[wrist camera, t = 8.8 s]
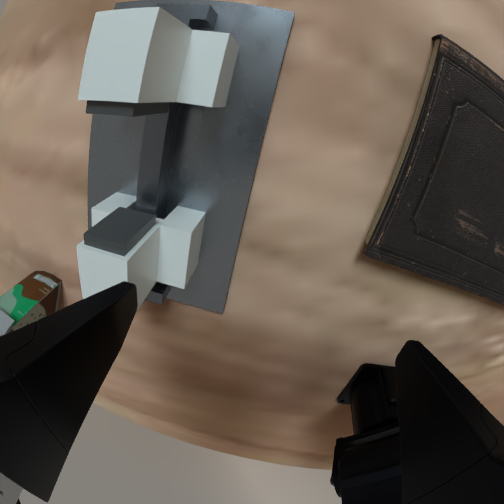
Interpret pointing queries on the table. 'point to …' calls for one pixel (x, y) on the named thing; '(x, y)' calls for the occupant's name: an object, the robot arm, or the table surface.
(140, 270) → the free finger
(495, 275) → the hardcover book
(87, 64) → the block
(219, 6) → the rail
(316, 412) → the table surface
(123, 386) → the table surface
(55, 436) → the robot arm
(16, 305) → the food container
